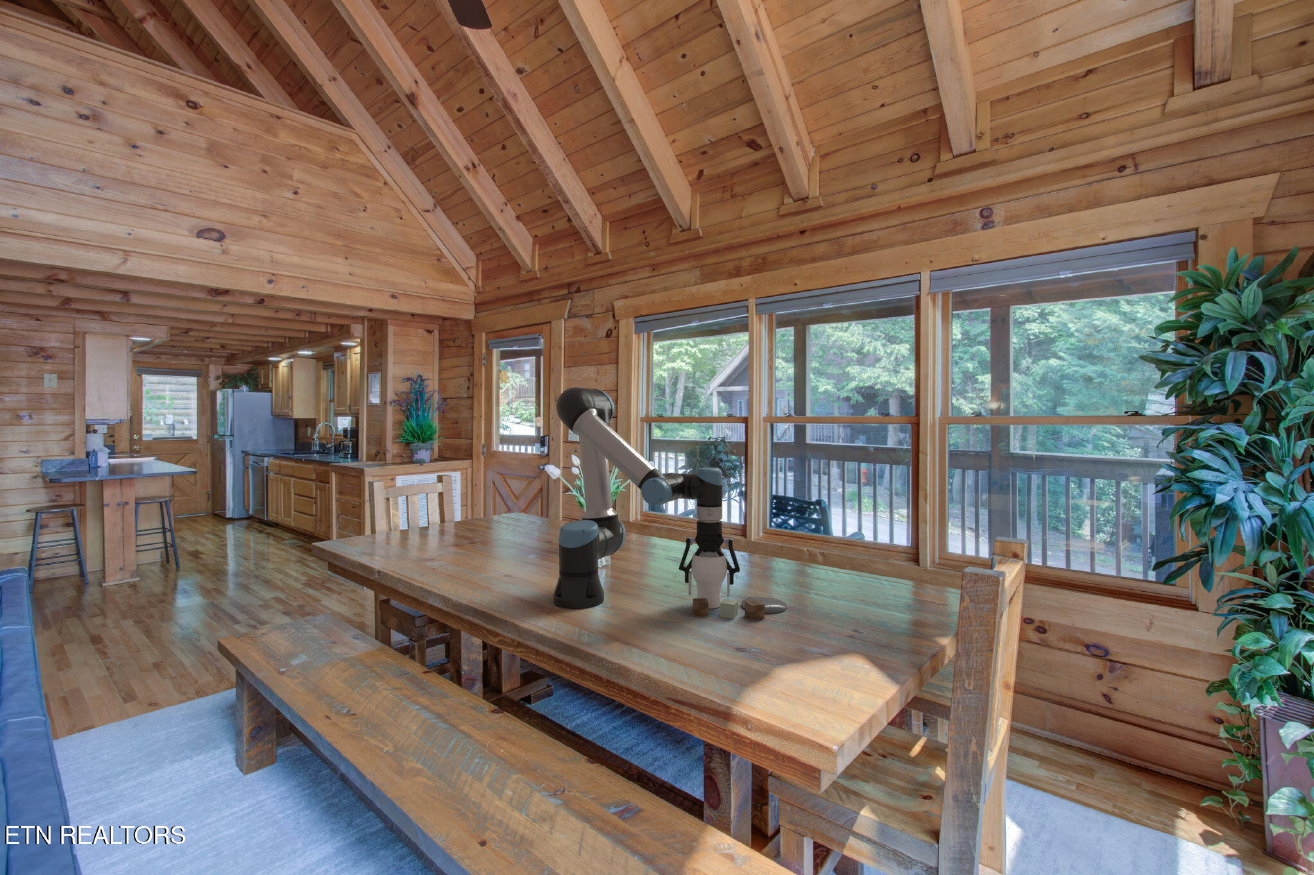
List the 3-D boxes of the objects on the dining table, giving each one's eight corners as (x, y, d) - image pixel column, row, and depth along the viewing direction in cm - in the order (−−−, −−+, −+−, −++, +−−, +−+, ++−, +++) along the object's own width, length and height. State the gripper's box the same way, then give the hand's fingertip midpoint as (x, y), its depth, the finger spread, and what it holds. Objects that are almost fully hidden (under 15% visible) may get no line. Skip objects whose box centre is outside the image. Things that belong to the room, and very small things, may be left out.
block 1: (694, 617, 162) (694, 602, 162) (692, 612, 166) (692, 598, 166) (708, 616, 163) (708, 602, 162) (706, 612, 167) (706, 598, 166)
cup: (726, 599, 178) (727, 550, 177) (727, 611, 167) (727, 558, 167) (691, 598, 179) (692, 549, 178) (690, 609, 168) (690, 557, 168)
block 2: (720, 617, 162) (720, 602, 162) (724, 612, 166) (724, 598, 166) (734, 619, 161) (734, 604, 161) (738, 614, 164) (738, 600, 164)
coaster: (741, 612, 166) (741, 609, 166) (741, 598, 179) (741, 596, 179) (788, 614, 164) (788, 611, 164) (784, 600, 177) (784, 597, 177)
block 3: (751, 620, 160) (751, 605, 160) (744, 615, 164) (744, 601, 164) (764, 618, 161) (764, 604, 161) (757, 614, 165) (757, 600, 165)
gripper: (669, 521, 170) (668, 596, 171) (749, 523, 167) (748, 600, 168) (671, 517, 178) (671, 589, 178) (748, 519, 175) (748, 592, 175)
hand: (709, 594), depth 173 cm, fingers closed on cup, 11 cm apart
